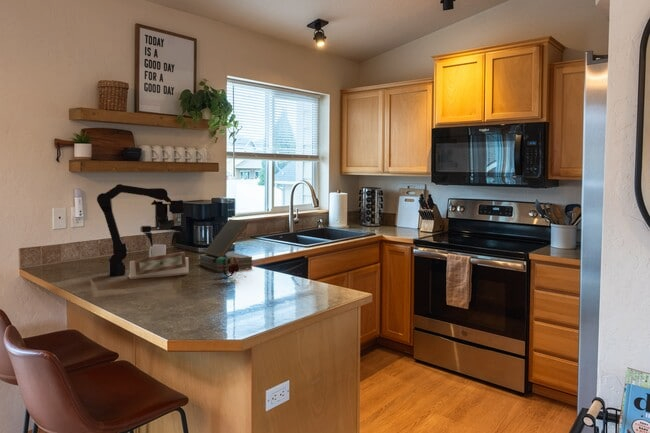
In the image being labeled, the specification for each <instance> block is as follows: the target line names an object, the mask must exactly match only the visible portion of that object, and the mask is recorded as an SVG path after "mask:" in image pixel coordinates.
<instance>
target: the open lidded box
mask: <svg viewBox="0 0 650 433" xmlns="http://www.w3.org/2000/svg"><path fill="white" fill-rule="evenodd" d="M248 224H249V223H248V222H247V221H246V220H239V219H233V218H231V219H230V218H229V219H228V220H227V222H226V223H225V224H224V225H223V227H222V228H221V229H220V231H219V232H218V234H216V237H215V238H214V239H213V240H212V241H211V243H210V244H209V246H208V247H207V248H206V249H205V251H204V254H199V265H200V266H202V267H205V268H206V269H210V270H211V271H214V272H218V273H224V272H223V267H222V266H227V267H226V268H225V272H229V271H228V269H229V266H232V265H231V264H228V265H223V264H217V262H216V263H214V262H213V259H214V258H216V259H218V258H219V257H223V256H224V255H226V256H227V257H231V256H232V257H235V258H236V257H239V262H238V266H239V269H242V270H247V269H246V268H249V269H252V268H253V256H251V255H250V256H249V255H245V254H243V253H242V254H241V253H237V252H235V251H233V252H229V250H230V249H231V247H232V246H233V245H234V243H235V242H236V241H237V239H238V238H239V236H240V235H241V234H242V233H243V231H244V230H245V229H246V227H247V226H248ZM234 264H237V263H234Z"/></svg>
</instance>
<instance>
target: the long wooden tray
mask: <svg viewBox="0 0 650 433" xmlns="http://www.w3.org/2000/svg"><path fill="white" fill-rule="evenodd" d="M185 261H186V267H182V268H176V269H170V270H164V271H159V272H153V273H147V274H141V275H136V266H135V260H130V261H129V274H128V278H129V279H130V280H136V279H148V278H160V277H161V278H162V277H170V276H171V277H173V276H174V277H175V276H185V275H189V272H190V271H189V256H188V257H186V256H185Z"/></svg>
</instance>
